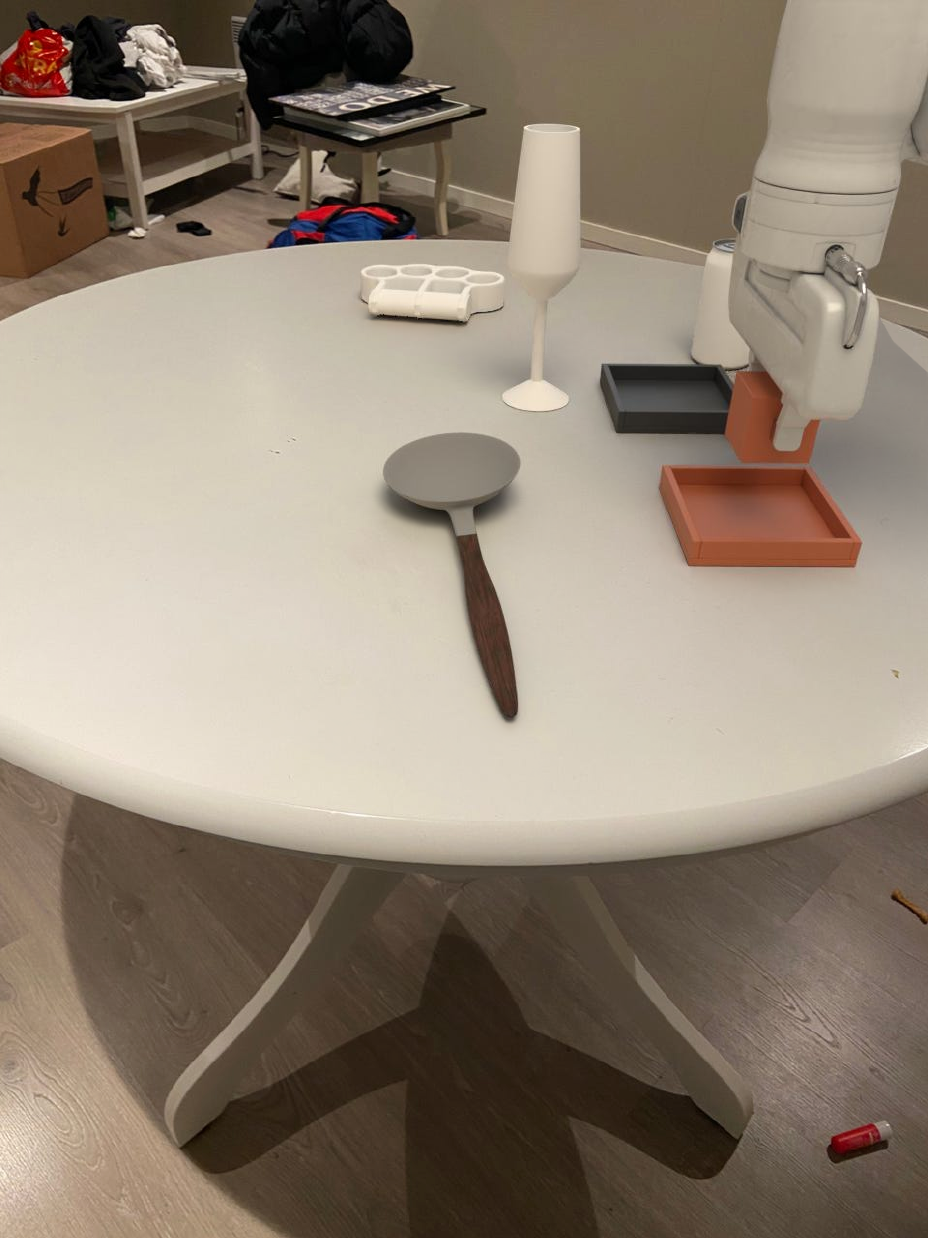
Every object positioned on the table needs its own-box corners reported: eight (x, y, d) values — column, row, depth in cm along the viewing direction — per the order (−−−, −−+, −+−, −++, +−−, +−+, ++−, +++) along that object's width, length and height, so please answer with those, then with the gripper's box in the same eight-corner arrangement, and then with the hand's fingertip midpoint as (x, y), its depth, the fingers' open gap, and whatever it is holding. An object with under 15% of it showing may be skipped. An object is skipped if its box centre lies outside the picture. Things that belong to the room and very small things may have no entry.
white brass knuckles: (342, 318, 113) (373, 283, 125) (492, 329, 111) (509, 293, 123) (341, 290, 111) (372, 257, 123) (493, 300, 109) (511, 266, 121)
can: (714, 374, 100) (734, 256, 93) (678, 354, 105) (695, 240, 98) (763, 366, 103) (787, 249, 96) (726, 346, 107) (746, 234, 100)
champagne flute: (574, 410, 92) (598, 134, 78) (505, 411, 92) (516, 134, 78) (563, 384, 97) (584, 122, 84) (498, 385, 97) (508, 121, 83)
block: (789, 434, 73) (804, 371, 70) (809, 464, 69) (826, 397, 66) (724, 434, 73) (736, 370, 70) (740, 463, 68) (754, 397, 66)
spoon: (509, 456, 82) (507, 425, 80) (604, 724, 56) (605, 687, 54) (383, 472, 81) (378, 441, 79) (420, 751, 55) (415, 714, 54)
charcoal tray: (717, 384, 98) (721, 364, 97) (747, 433, 88) (752, 412, 87) (599, 382, 98) (601, 363, 97) (616, 432, 88) (618, 411, 87)
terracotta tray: (804, 488, 79) (810, 465, 78) (855, 566, 69) (862, 542, 68) (658, 487, 79) (662, 464, 78) (688, 565, 69) (693, 541, 68)
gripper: (928, 274, 53) (863, 495, 61) (814, 195, 70) (775, 377, 78) (815, 273, 53) (766, 494, 61) (728, 194, 70) (698, 376, 78)
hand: (770, 427), depth 70 cm, fingers closed on block, 5 cm apart
